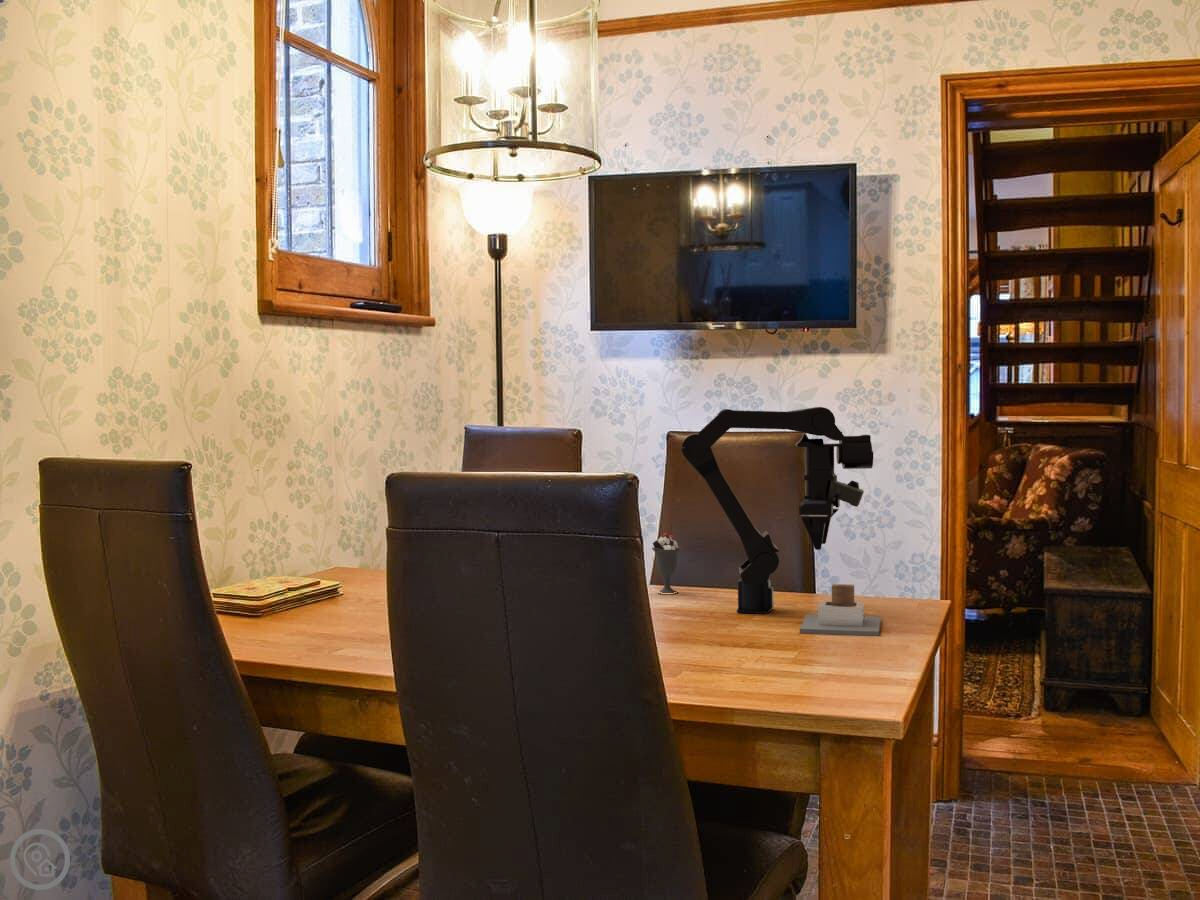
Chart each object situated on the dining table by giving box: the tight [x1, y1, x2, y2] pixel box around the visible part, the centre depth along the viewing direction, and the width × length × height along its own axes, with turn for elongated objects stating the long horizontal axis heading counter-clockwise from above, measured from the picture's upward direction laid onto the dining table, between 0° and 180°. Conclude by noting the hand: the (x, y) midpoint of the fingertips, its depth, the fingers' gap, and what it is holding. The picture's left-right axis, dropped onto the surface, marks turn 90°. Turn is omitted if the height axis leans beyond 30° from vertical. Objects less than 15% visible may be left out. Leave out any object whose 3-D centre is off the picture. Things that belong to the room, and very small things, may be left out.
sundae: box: [651, 525, 682, 593], centre depth 246 cm, size 7×7×15 cm
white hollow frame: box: [817, 600, 865, 626], centre depth 206 cm, size 8×6×4 cm
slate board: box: [799, 613, 882, 637], centre depth 206 cm, size 14×14×1 cm
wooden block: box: [831, 583, 855, 606], centre depth 206 cm, size 4×2×7 cm, turn 74°
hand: (820, 546), depth 222 cm, fingers open, 9 cm apart
